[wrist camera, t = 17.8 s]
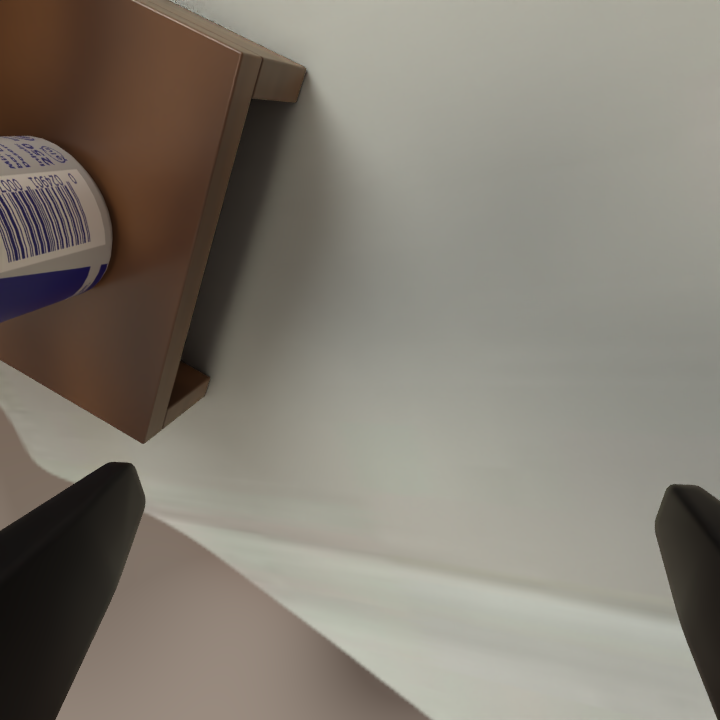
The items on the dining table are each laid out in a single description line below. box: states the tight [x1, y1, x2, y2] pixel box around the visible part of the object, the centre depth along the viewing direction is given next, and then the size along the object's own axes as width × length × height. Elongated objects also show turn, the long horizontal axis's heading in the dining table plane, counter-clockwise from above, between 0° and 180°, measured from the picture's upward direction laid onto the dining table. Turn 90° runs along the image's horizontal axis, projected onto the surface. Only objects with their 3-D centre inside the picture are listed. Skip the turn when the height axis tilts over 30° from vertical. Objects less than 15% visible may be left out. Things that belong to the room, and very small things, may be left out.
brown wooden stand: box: [0, 0, 306, 444], centre depth 18 cm, size 12×15×11 cm
